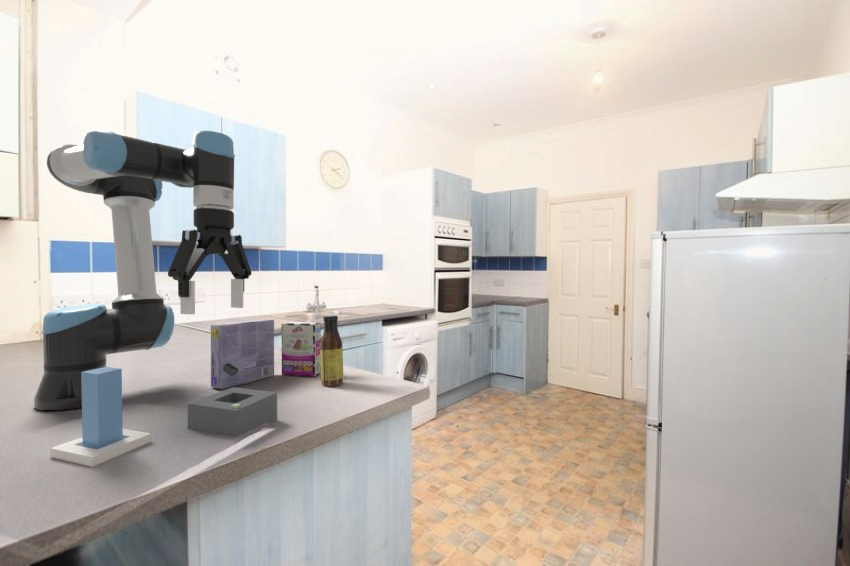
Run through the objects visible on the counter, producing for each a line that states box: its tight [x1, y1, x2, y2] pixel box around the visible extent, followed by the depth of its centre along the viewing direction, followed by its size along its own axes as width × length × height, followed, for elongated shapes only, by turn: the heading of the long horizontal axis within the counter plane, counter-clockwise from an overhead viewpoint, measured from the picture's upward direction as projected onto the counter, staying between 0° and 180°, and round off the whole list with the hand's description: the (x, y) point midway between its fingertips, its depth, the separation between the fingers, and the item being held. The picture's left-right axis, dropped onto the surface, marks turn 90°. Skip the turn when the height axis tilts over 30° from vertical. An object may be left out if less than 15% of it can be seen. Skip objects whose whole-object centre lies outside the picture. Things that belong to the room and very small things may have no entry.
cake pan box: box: [210, 319, 275, 391], centre depth 118 cm, size 19×5×18 cm, turn 150°
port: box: [187, 386, 278, 437], centre depth 85 cm, size 12×12×6 cm
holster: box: [50, 428, 152, 467], centre depth 72 cm, size 10×10×2 cm
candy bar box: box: [281, 321, 322, 378], centre depth 127 cm, size 11×5×16 cm, turn 81°
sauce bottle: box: [320, 314, 344, 387], centre depth 116 cm, size 7×6×20 cm
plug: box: [81, 366, 124, 449], centre depth 71 cm, size 4×4×14 cm
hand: (214, 310), depth 85 cm, fingers open, 13 cm apart
